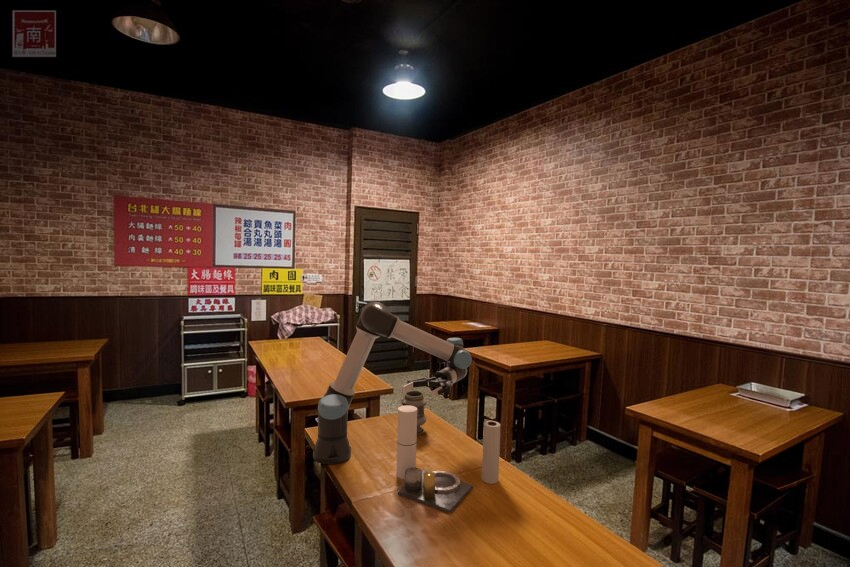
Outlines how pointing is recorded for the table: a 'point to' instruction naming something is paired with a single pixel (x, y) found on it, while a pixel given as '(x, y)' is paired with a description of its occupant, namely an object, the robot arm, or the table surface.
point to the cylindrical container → (406, 439)
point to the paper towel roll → (491, 451)
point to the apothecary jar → (419, 402)
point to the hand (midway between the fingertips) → (417, 392)
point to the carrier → (434, 488)
